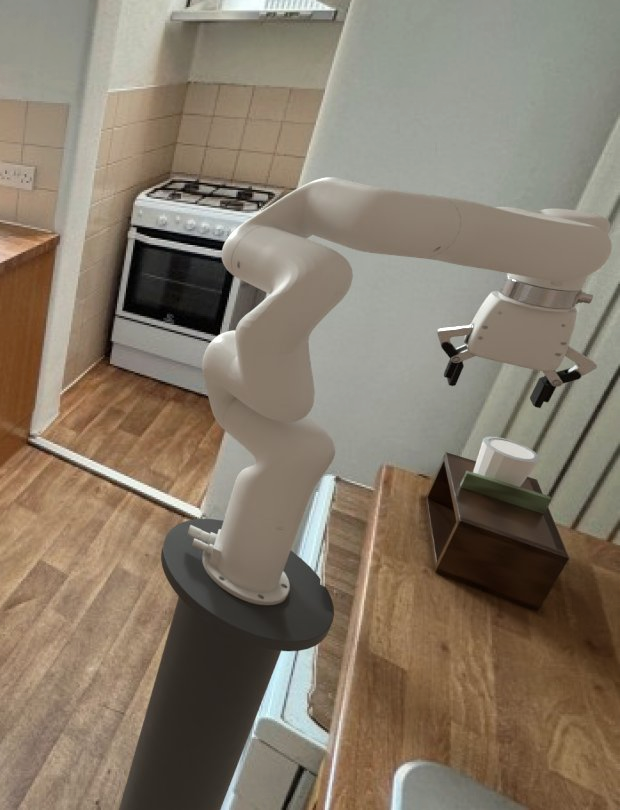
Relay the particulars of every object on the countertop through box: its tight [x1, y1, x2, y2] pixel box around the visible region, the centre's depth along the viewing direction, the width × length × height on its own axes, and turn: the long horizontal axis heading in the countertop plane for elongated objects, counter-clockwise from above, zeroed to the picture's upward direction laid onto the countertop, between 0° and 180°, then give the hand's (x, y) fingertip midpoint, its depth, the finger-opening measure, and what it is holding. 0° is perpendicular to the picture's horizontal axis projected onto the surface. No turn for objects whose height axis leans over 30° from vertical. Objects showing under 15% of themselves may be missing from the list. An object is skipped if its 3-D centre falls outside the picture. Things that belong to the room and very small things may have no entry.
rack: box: [424, 451, 570, 613], centre depth 101 cm, size 12×22×14 cm, turn 142°
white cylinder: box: [473, 436, 540, 487], centre depth 102 cm, size 7×7×7 cm
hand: (491, 392), depth 94 cm, fingers open, 9 cm apart
